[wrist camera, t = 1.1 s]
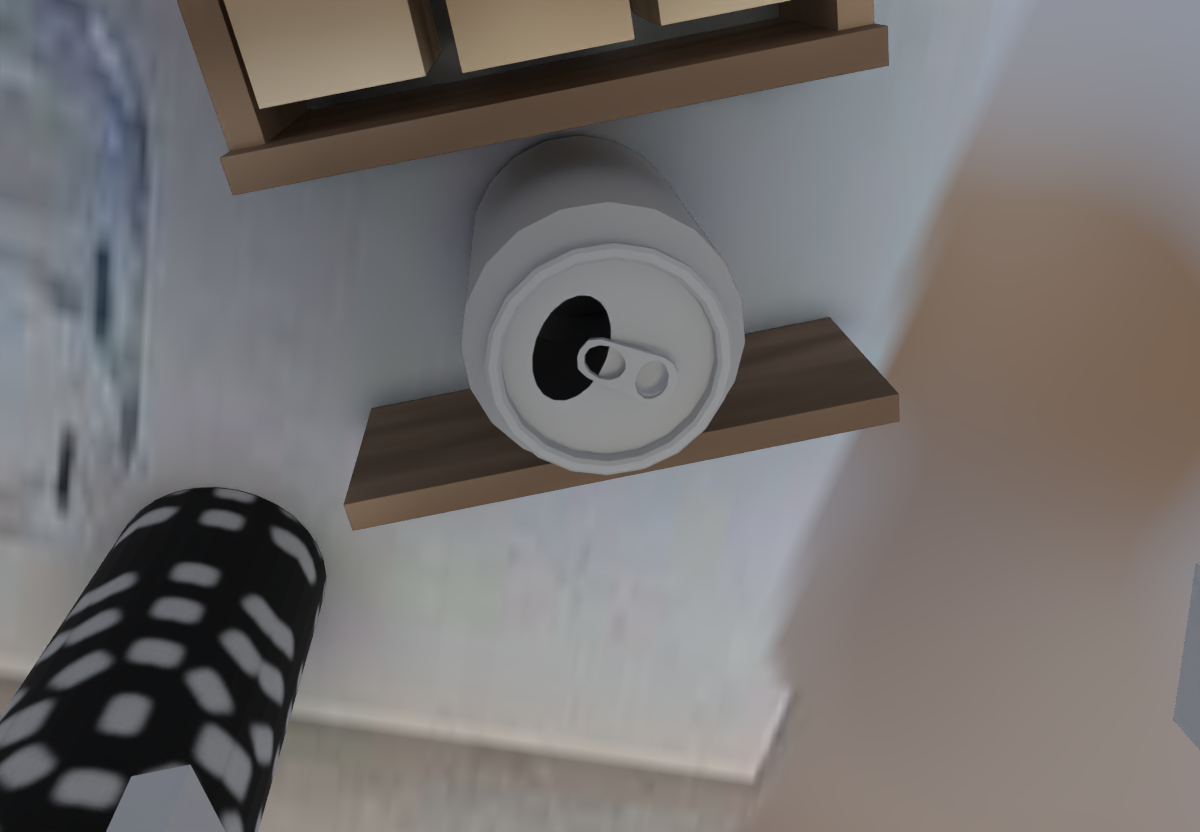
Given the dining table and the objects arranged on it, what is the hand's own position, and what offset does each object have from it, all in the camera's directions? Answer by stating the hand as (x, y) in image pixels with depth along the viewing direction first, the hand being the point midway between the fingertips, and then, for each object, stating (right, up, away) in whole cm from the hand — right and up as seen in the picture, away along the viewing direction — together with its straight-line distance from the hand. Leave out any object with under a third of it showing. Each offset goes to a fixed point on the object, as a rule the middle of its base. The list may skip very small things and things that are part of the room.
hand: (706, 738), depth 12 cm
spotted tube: (-17, -2, +26) cm, 31 cm away
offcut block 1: (-9, +18, +17) cm, 26 cm away
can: (-2, +11, +21) cm, 24 cm away
